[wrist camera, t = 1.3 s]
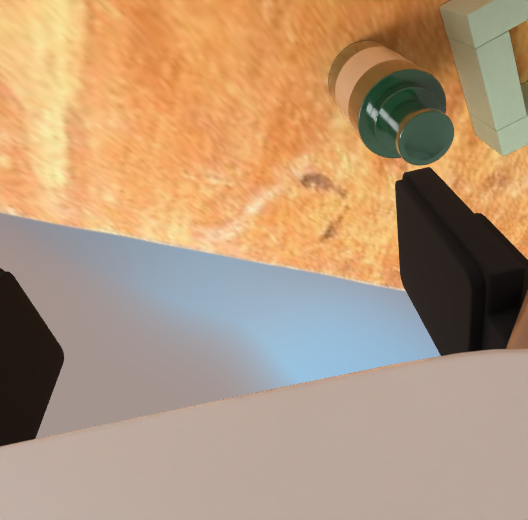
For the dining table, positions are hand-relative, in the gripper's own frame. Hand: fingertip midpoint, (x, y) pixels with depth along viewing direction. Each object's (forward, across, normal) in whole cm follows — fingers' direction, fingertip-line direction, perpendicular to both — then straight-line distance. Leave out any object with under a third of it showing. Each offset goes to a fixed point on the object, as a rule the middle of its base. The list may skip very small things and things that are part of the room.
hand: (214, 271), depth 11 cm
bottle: (+26, -10, +4) cm, 28 cm away
